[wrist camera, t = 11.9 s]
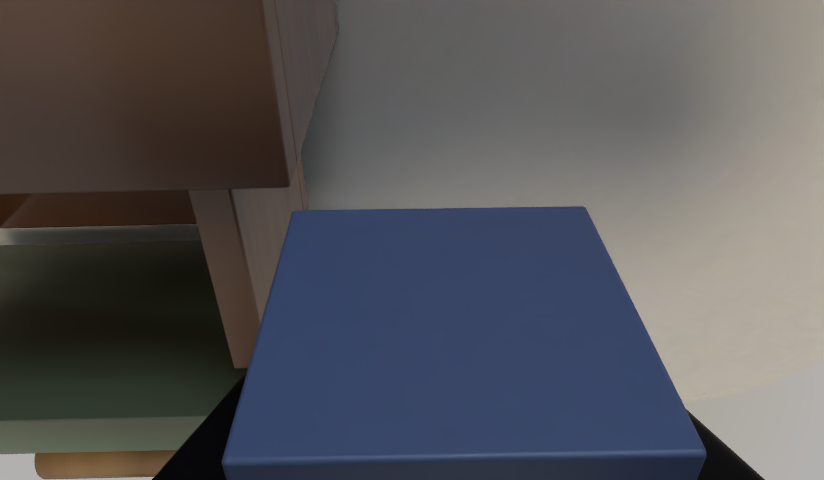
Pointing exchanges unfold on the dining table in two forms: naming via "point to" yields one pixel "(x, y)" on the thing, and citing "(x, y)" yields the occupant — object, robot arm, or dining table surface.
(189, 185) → the cabinet
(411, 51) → the dining table surface
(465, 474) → the block
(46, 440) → the drawer
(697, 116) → the dining table surface
